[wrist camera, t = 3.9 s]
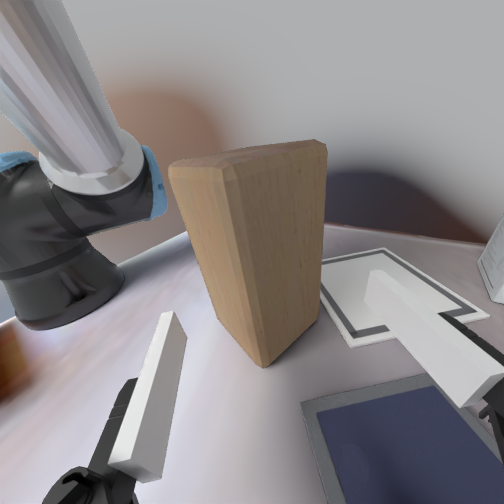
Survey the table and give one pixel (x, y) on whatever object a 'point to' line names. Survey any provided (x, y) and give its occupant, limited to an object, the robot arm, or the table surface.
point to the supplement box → (494, 264)
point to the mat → (354, 288)
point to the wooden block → (258, 238)
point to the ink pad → (402, 447)
